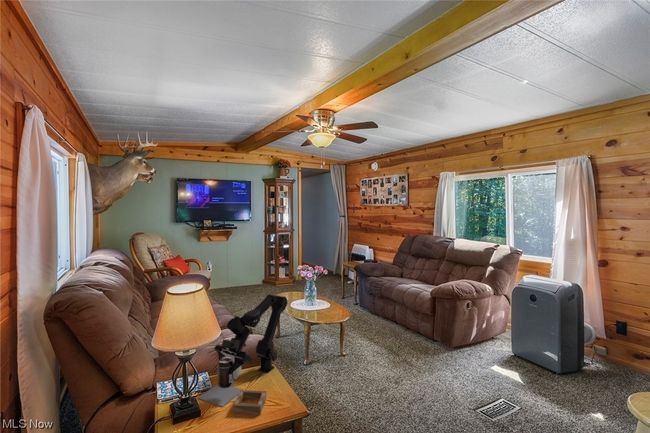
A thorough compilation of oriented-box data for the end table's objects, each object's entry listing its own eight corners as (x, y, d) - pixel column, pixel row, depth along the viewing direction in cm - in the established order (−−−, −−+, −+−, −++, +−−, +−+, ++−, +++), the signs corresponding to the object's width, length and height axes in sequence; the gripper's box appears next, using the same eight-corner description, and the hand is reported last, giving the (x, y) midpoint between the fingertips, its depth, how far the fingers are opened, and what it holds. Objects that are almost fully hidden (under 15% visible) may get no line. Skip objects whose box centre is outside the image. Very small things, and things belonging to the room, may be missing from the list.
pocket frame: (241, 397, 154) (241, 390, 154) (266, 398, 154) (266, 391, 153) (233, 413, 143) (233, 405, 142) (260, 414, 142) (260, 406, 142)
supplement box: (241, 371, 177) (241, 348, 176) (236, 379, 169) (236, 354, 169) (227, 370, 178) (227, 347, 177) (222, 378, 170) (222, 353, 169)
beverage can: (235, 386, 153) (235, 360, 152) (220, 391, 149) (220, 364, 148) (230, 379, 158) (230, 354, 158) (215, 384, 155) (215, 358, 154)
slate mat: (219, 383, 165) (219, 382, 165) (243, 390, 159) (243, 389, 159) (198, 398, 153) (198, 397, 153) (222, 407, 147) (222, 406, 147)
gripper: (216, 327, 160) (198, 360, 151) (247, 335, 151) (230, 370, 142) (228, 337, 168) (211, 369, 159) (259, 346, 159) (242, 380, 150)
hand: (223, 372), depth 152 cm, fingers closed on beverage can, 7 cm apart
